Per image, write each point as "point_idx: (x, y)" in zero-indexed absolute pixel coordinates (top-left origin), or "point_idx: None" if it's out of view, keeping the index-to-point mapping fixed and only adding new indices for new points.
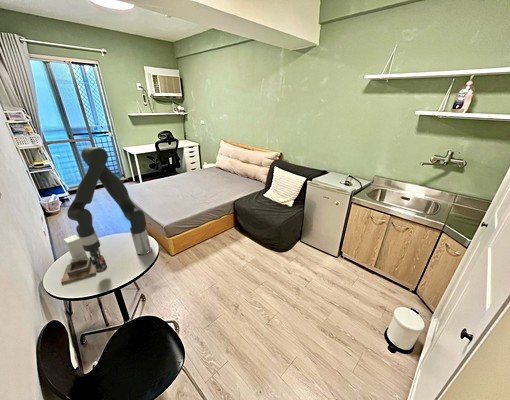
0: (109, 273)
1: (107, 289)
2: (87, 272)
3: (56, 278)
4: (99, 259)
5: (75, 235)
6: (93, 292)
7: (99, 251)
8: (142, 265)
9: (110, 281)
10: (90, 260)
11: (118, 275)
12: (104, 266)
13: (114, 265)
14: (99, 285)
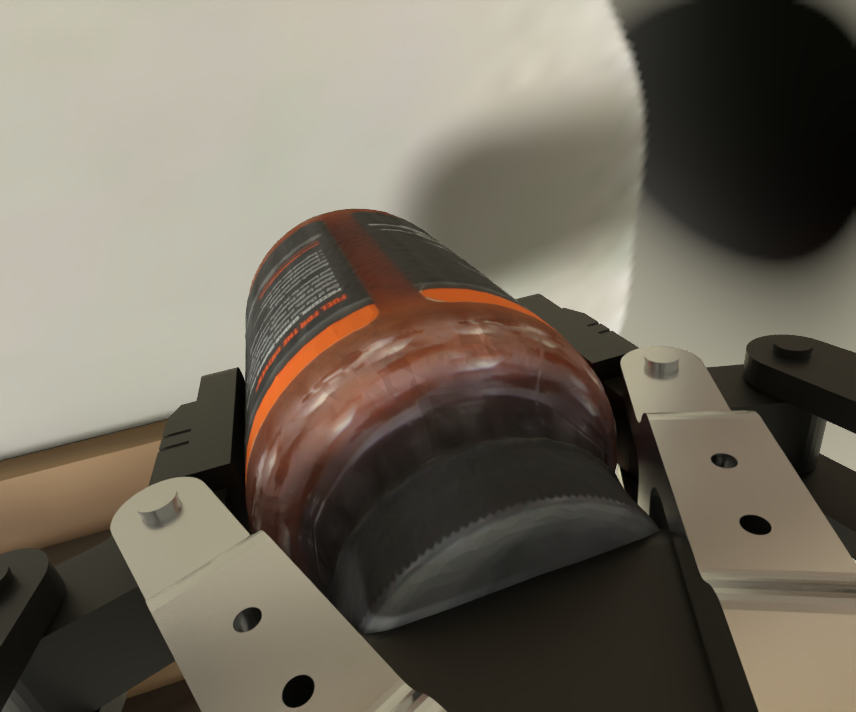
0: (283, 198)
1: (633, 142)
2: None
3: None
4: (589, 386)
5: None
6: (605, 303)
7: (242, 612)
8: None
9: (488, 136)
10: None
11: (384, 21)
12: (437, 241)
13: (45, 159)
14: (512, 271)
